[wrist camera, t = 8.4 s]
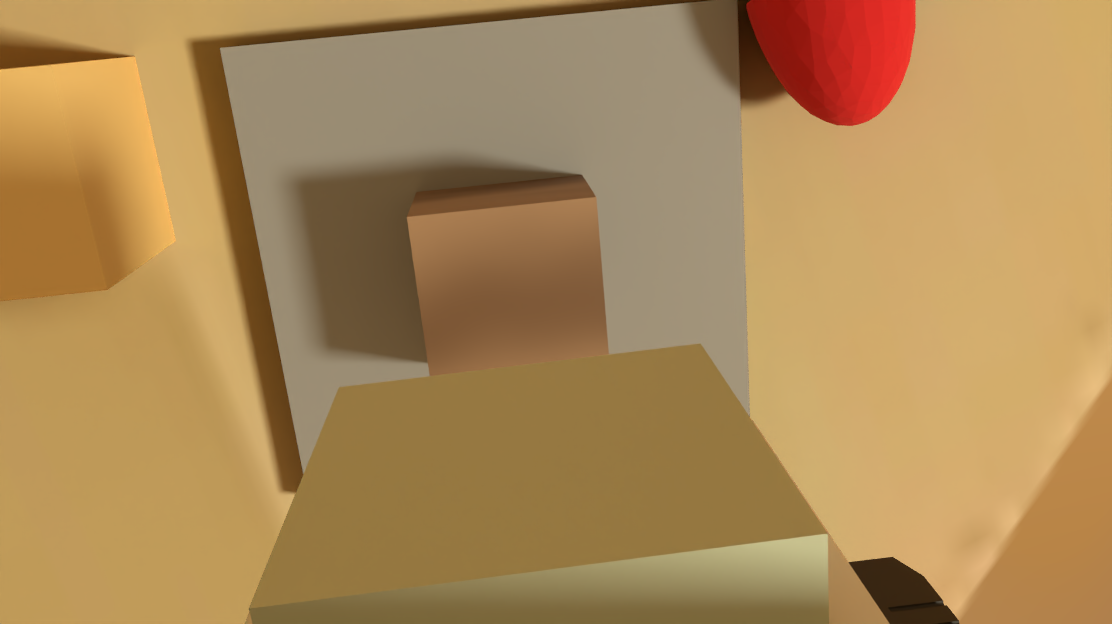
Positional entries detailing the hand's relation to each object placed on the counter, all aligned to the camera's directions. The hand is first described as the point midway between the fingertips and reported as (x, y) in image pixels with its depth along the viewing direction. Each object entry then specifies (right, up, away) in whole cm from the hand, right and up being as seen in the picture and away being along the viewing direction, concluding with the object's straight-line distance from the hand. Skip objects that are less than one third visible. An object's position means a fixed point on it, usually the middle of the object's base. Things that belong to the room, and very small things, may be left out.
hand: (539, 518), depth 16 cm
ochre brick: (-16, +8, +14) cm, 23 cm away
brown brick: (-1, +5, +15) cm, 16 cm away
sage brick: (0, 0, 0) cm, 0 cm away
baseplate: (-1, +5, +16) cm, 17 cm away
